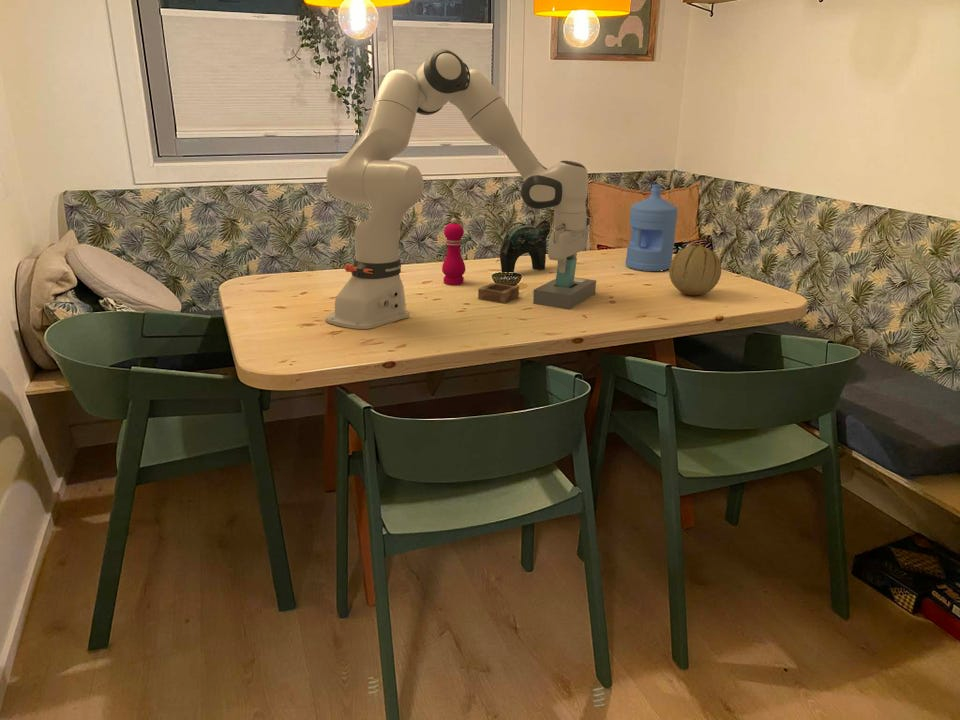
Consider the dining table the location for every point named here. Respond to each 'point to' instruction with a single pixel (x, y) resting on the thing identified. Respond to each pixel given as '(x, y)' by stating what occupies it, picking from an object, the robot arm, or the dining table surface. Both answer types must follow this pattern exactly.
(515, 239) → the dark green animal figurine
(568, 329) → the dining table surface
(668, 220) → the water jug
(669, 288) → the dining table surface
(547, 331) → the dining table surface
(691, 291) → the cantaloupe
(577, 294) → the block
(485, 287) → the brown wooden box
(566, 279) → the plug
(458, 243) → the pepper mill
